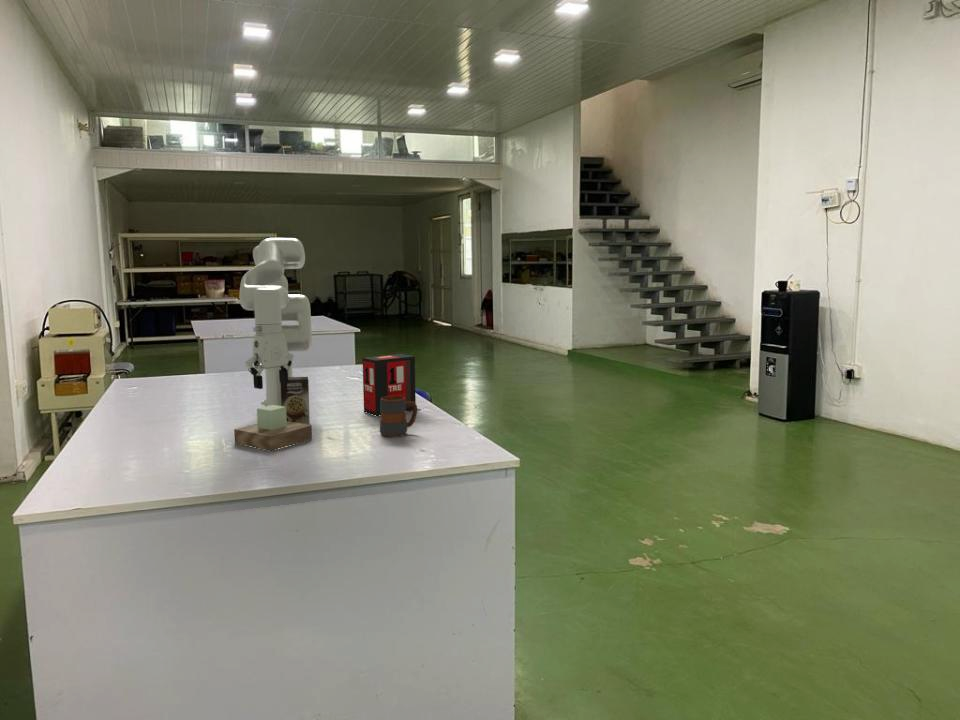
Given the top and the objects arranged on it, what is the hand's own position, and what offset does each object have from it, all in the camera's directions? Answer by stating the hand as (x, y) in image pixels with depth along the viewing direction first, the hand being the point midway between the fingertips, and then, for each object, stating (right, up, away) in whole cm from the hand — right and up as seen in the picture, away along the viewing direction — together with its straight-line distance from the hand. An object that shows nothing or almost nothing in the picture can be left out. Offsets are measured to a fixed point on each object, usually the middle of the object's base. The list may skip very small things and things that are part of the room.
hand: (271, 385), depth 212 cm
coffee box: (+2, -14, +22) cm, 27 cm away
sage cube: (0, -13, +2) cm, 13 cm away
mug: (+37, -16, +11) cm, 42 cm away
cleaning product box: (+30, -11, +44) cm, 55 cm away
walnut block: (0, -18, +2) cm, 18 cm away
